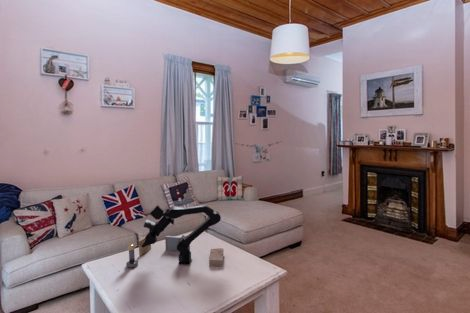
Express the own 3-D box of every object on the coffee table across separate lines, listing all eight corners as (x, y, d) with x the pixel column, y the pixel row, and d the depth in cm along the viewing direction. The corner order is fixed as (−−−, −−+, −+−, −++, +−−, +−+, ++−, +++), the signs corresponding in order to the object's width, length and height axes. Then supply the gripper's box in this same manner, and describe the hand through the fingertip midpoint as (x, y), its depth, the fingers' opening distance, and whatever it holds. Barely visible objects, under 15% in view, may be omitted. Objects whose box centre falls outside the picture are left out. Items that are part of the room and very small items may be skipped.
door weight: (140, 263, 168) (139, 242, 167) (134, 269, 162) (133, 247, 161) (130, 262, 170) (129, 242, 169) (124, 267, 164) (123, 246, 162)
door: (151, 248, 191) (150, 233, 190) (141, 256, 178) (140, 240, 178) (149, 247, 191) (148, 233, 190) (139, 255, 179) (138, 240, 178)
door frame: (183, 250, 188) (183, 236, 187) (182, 251, 186) (182, 238, 185) (149, 247, 193) (149, 234, 192) (148, 248, 191) (147, 235, 190)
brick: (223, 267, 164) (223, 259, 164) (208, 267, 164) (208, 259, 163) (223, 255, 180) (223, 247, 180) (210, 255, 180) (210, 248, 180)
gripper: (154, 211, 174) (136, 229, 174) (149, 220, 156) (129, 241, 155) (167, 223, 176) (150, 241, 175) (163, 233, 157) (144, 253, 157)
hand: (143, 243), depth 166 cm, fingers open, 9 cm apart
